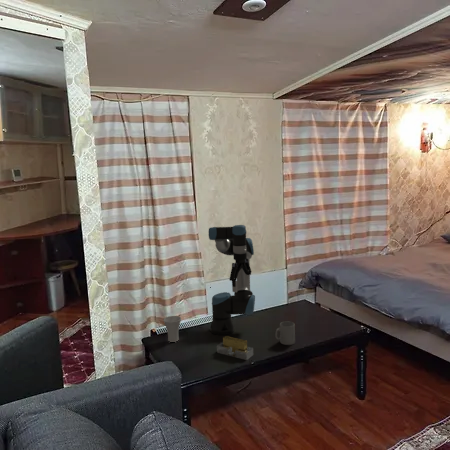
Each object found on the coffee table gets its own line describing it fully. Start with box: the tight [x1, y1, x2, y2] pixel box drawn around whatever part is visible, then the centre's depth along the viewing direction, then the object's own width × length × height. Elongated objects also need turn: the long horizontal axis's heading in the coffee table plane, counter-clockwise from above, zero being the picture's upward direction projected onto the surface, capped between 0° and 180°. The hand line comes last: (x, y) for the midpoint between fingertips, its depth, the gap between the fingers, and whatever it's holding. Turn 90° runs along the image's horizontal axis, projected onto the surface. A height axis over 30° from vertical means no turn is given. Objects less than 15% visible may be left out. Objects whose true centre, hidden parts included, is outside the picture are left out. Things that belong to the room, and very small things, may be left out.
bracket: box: [216, 341, 254, 361], centre depth 226 cm, size 19×7×4 cm, turn 56°
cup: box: [162, 315, 182, 343], centre depth 245 cm, size 10×10×14 cm
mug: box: [274, 320, 296, 346], centre depth 237 cm, size 12×8×11 cm
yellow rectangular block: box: [222, 335, 248, 352], centre depth 225 cm, size 14×3×7 cm, turn 56°
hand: (241, 288), depth 237 cm, fingers open, 13 cm apart
